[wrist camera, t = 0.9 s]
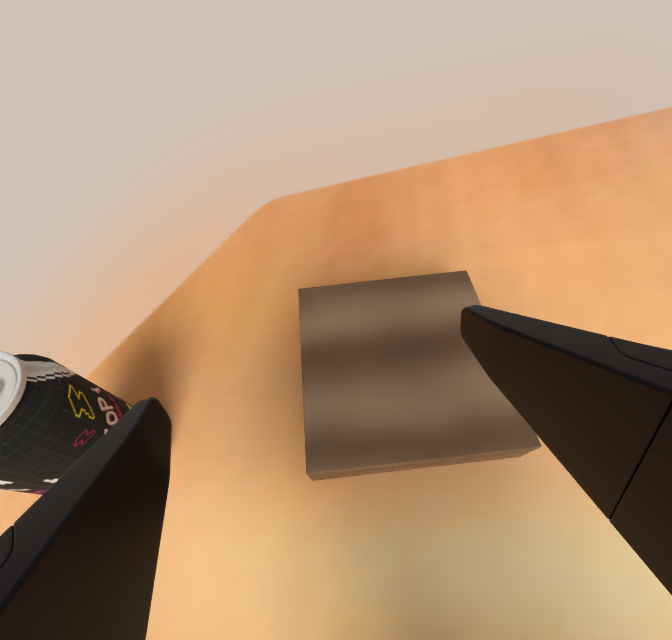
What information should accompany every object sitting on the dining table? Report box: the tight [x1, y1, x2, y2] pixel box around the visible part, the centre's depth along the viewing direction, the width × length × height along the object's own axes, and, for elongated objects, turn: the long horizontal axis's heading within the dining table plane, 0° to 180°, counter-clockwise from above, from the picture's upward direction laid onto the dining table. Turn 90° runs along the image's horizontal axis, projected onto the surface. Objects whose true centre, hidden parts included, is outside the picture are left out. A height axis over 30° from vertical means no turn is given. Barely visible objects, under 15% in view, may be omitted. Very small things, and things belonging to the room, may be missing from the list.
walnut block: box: [299, 271, 541, 481], centre depth 24 cm, size 14×14×3 cm
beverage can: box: [0, 351, 133, 495], centre depth 18 cm, size 6×6×12 cm
